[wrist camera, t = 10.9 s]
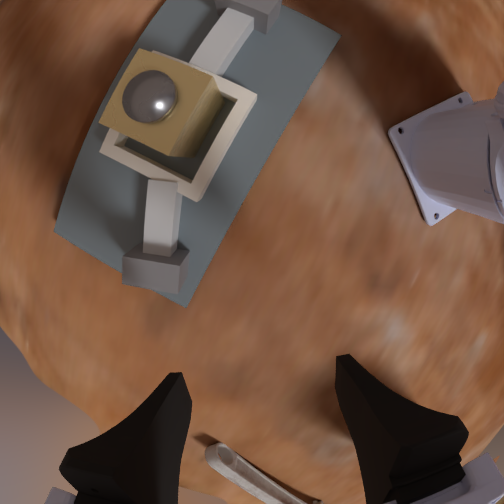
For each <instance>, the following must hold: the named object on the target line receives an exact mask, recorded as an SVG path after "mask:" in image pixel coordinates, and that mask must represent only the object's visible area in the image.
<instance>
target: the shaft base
mask: <svg viewBox="0 0 504 504" xmlns="http://www.w3.org/2000/svg"><path fill="white" fill-rule="evenodd" d="M341 36H342V35H340V34H338V33H337V32H335V31H333V30H332V29H330V28H328V27H326V26H324V25H322V24H321V23H319V22H317V21H315V20H313V19H311V18H309V17H307V16H305V15H303V14H301V13H299V12H297V11H295V10H293V9H291V8H288V7H286V6H284V5H282V0H166V2H165V3H164V4H163V5H162V7H161V8H160V9H159V11H158V12H157V13H156V15H155V16H154V17H153V19H152V20H151V22H150V23H149V24H148V26H147V27H146V29H145V30H144V32H143V33H142V35H141V36H140V38H139V39H138V41H137V42H136V44H135V45H134V47H133V48H132V50H131V52H130V53H129V55H128V56H127V58H126V60H125V61H124V63H123V65H122V66H121V68H120V70H119V72H118V73H117V75H116V77H115V79H114V81H113V82H112V84H111V86H110V88H109V90H108V92H107V94H106V96H105V97H104V99H103V101H102V103H101V105H100V107H99V110H98V112H97V114H96V116H95V118H94V120H93V122H92V124H91V127H90V129H89V131H88V133H87V136H86V138H85V140H84V143H83V145H82V148H81V150H80V153H79V155H78V158H77V160H76V163H75V165H74V168H73V171H72V174H71V176H70V179H69V182H68V185H67V188H66V191H65V194H64V197H63V200H62V204H61V207H60V210H59V214H58V217H57V221H56V224H55V228H54V232H55V233H57V234H58V235H60V236H61V237H63V238H65V239H66V240H68V241H69V242H71V243H72V244H74V245H76V246H77V247H79V248H80V249H82V250H84V251H85V252H87V253H89V254H90V255H92V256H93V257H95V258H97V259H98V260H100V261H102V262H104V263H105V264H107V265H109V266H110V267H112V268H114V269H115V270H117V271H119V272H121V273H122V284H125V285H130V286H135V287H140V288H145V289H151V290H153V291H155V292H157V293H158V294H160V295H162V296H164V297H166V298H168V299H170V300H172V301H174V302H176V303H177V304H179V305H181V306H183V307H185V308H187V306H188V304H189V302H190V300H191V298H192V296H193V294H194V292H195V290H196V288H197V286H198V284H199V283H200V281H201V279H202V277H203V275H204V273H205V271H206V269H207V267H208V265H209V264H210V262H211V260H212V258H213V256H214V254H215V252H216V250H217V249H218V247H219V245H220V243H221V241H222V239H223V237H224V236H225V234H226V232H227V230H228V228H229V226H230V225H231V223H232V221H233V219H234V217H235V215H236V214H237V212H238V210H239V208H240V206H241V205H242V203H243V201H244V199H245V197H246V196H247V194H248V192H249V190H250V188H251V187H252V185H253V183H254V181H255V180H256V178H257V176H258V174H259V172H260V171H261V169H262V167H263V165H264V164H265V162H266V160H267V158H268V157H269V155H270V153H271V151H272V150H273V148H274V146H275V145H276V143H277V141H278V139H279V138H280V136H281V134H282V133H283V131H284V129H285V127H286V126H287V124H288V122H289V121H290V119H291V117H292V116H293V114H294V112H295V110H296V109H297V107H298V105H299V104H300V102H301V100H302V99H303V97H304V95H305V94H306V92H307V90H308V89H309V87H310V86H311V84H312V82H313V81H314V79H315V77H316V76H317V74H318V72H319V71H320V69H321V68H322V66H323V64H324V63H325V61H326V59H327V58H328V56H329V55H330V53H331V51H332V50H333V48H334V47H335V45H336V44H337V42H338V40H339V39H340V37H341ZM139 48H140V49H144V50H147V51H149V52H152V53H155V54H158V55H161V56H164V57H166V58H169V59H172V60H174V61H177V62H180V63H182V64H185V65H187V66H190V67H192V68H195V69H197V70H200V71H202V72H204V73H207V74H209V75H211V76H213V77H214V79H215V82H216V84H217V86H218V88H219V90H220V93H221V95H222V97H223V99H224V102H225V104H224V106H223V107H222V109H221V111H220V112H219V114H218V116H217V118H216V119H215V121H214V123H213V125H212V126H211V128H210V130H209V132H208V133H207V135H206V137H205V139H204V141H203V143H202V144H201V146H200V148H199V150H198V152H197V154H196V156H195V157H194V158H188V157H175V156H167V155H165V154H163V153H161V152H159V151H157V150H155V149H153V148H151V147H149V146H147V145H145V144H143V143H141V142H139V141H136V140H134V139H132V138H130V137H128V136H126V135H124V134H122V133H120V132H117V131H115V130H113V129H111V128H109V127H107V126H104V125H102V124H100V123H98V122H99V120H100V118H101V116H102V114H103V112H104V110H105V108H106V106H107V104H108V102H109V100H110V98H111V96H112V94H113V92H114V90H115V89H116V87H117V85H118V83H119V81H120V79H121V78H122V76H123V74H124V72H125V71H126V69H127V67H128V66H129V64H130V62H131V61H132V59H133V57H134V56H135V54H136V52H137V51H138V49H139Z"/></svg>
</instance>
